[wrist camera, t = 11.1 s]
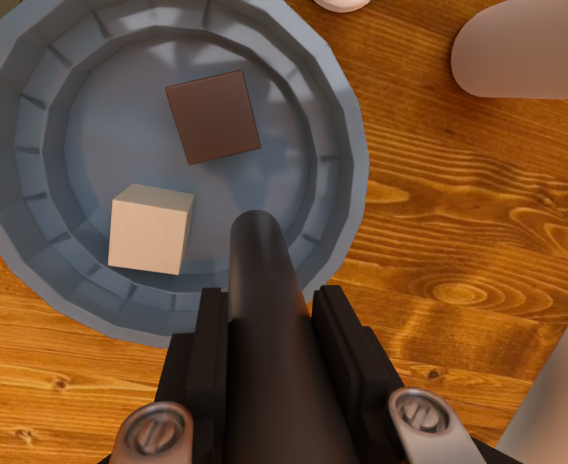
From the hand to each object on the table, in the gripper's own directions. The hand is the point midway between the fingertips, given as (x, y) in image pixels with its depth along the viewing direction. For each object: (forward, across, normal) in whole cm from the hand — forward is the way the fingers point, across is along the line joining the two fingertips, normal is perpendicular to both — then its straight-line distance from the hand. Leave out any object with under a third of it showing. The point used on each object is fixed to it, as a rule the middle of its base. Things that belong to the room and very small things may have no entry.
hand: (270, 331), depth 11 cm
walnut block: (+12, +2, -6) cm, 14 cm away
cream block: (+12, +6, 0) cm, 14 cm away
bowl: (+13, +4, -2) cm, 14 cm away
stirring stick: (+9, 0, 0) cm, 9 cm away
